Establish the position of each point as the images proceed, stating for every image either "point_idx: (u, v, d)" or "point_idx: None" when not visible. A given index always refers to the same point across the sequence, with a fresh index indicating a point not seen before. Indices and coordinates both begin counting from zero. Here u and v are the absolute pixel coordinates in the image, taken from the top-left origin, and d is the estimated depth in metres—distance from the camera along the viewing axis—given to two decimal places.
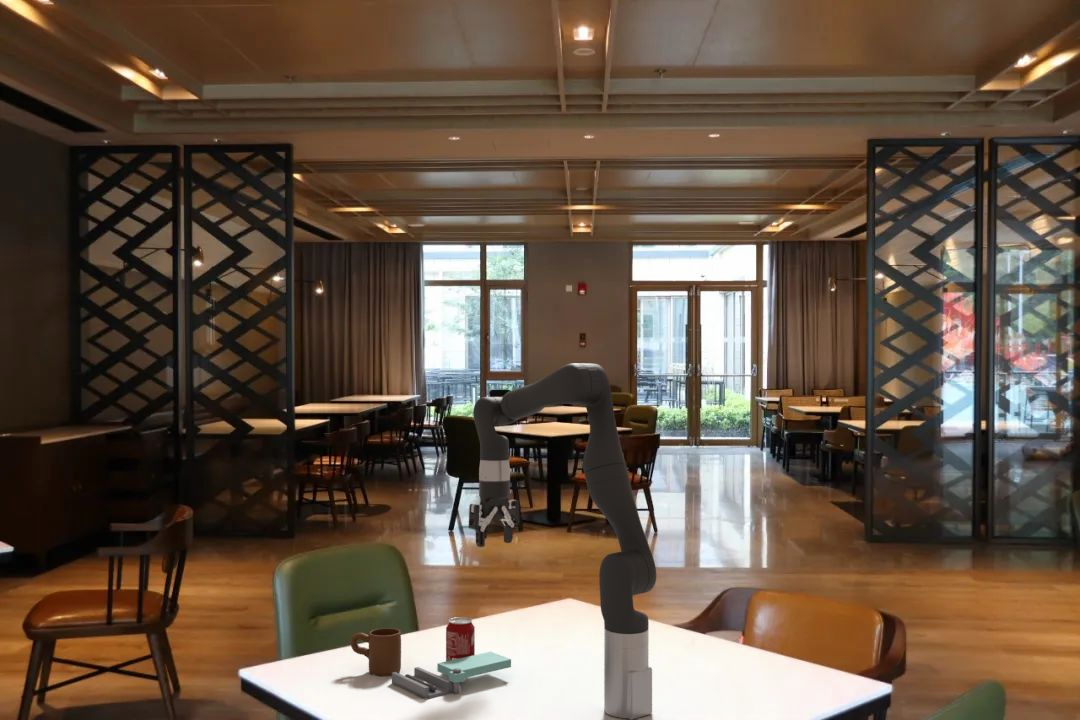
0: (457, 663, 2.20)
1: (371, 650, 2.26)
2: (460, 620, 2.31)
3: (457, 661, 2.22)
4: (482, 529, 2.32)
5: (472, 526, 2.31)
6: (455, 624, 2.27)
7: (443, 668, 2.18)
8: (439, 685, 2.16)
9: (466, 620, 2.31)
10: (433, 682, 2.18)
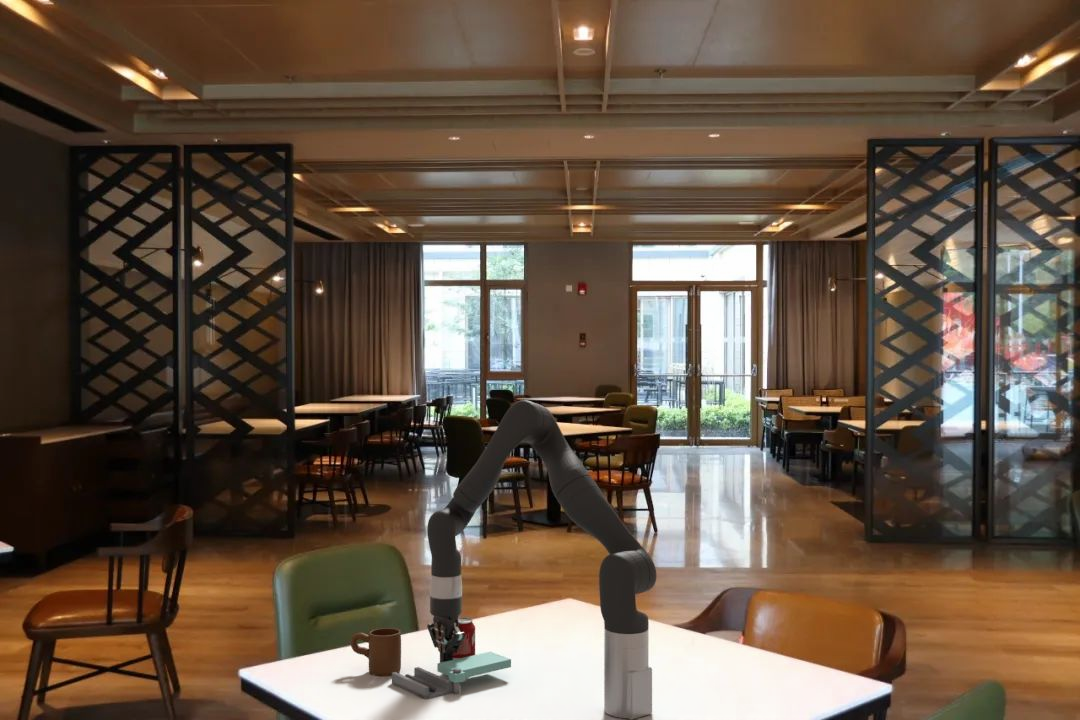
0: (457, 663, 2.20)
1: (371, 650, 2.26)
2: (461, 620, 2.31)
3: (457, 661, 2.22)
4: None
5: (454, 648, 2.25)
6: None
7: (443, 668, 2.18)
8: (439, 685, 2.16)
9: (467, 620, 2.31)
10: (433, 682, 2.18)
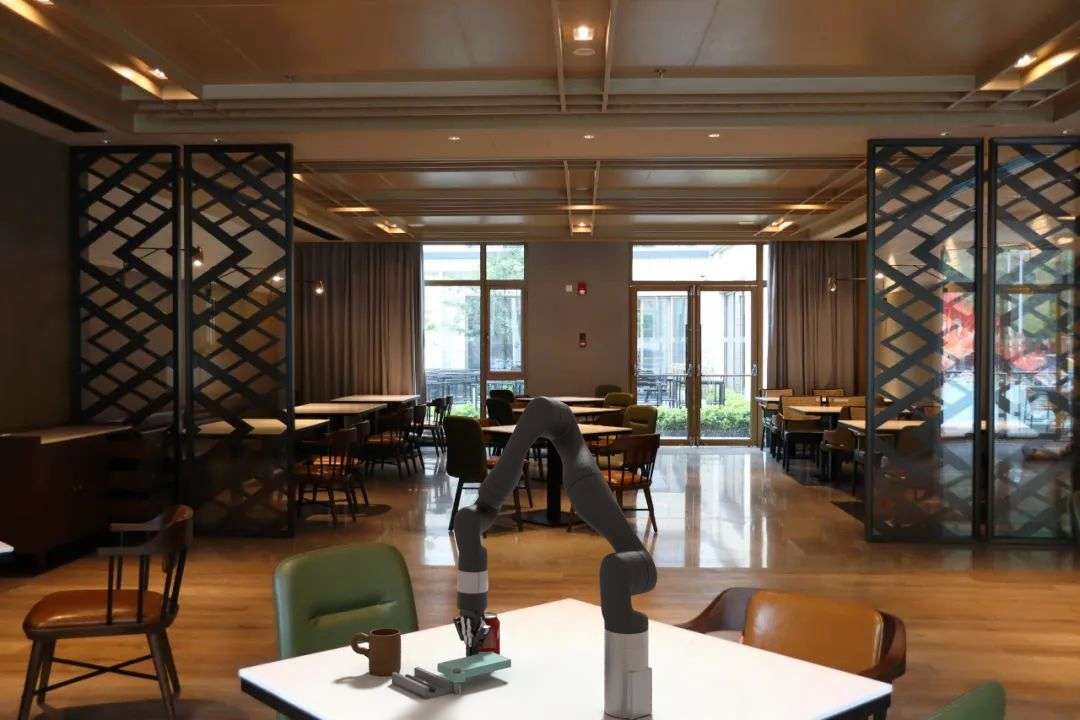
0: (457, 663, 2.20)
1: (371, 650, 2.26)
2: (485, 615, 2.36)
3: (457, 661, 2.22)
4: None
5: (480, 642, 2.30)
6: None
7: (443, 668, 2.18)
8: (439, 685, 2.16)
9: (491, 615, 2.36)
10: (433, 682, 2.18)
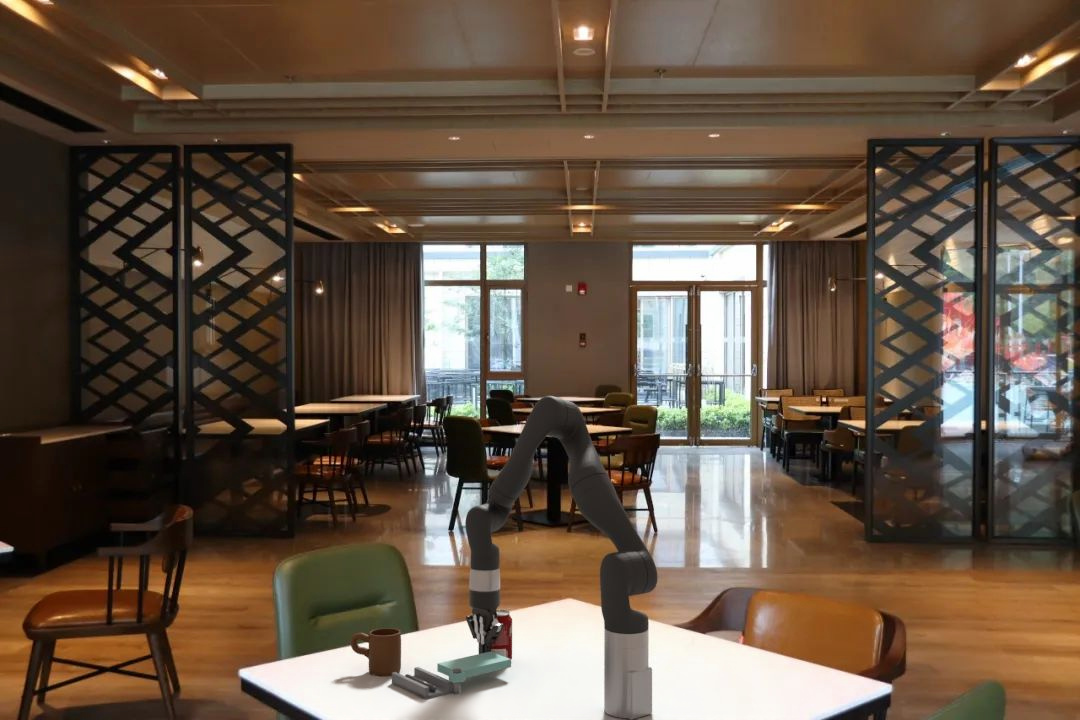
0: (457, 663, 2.20)
1: (371, 650, 2.26)
2: (498, 612, 2.39)
3: (457, 661, 2.22)
4: None
5: (493, 639, 2.32)
6: None
7: (443, 668, 2.18)
8: (439, 685, 2.16)
9: (504, 612, 2.39)
10: (433, 682, 2.18)
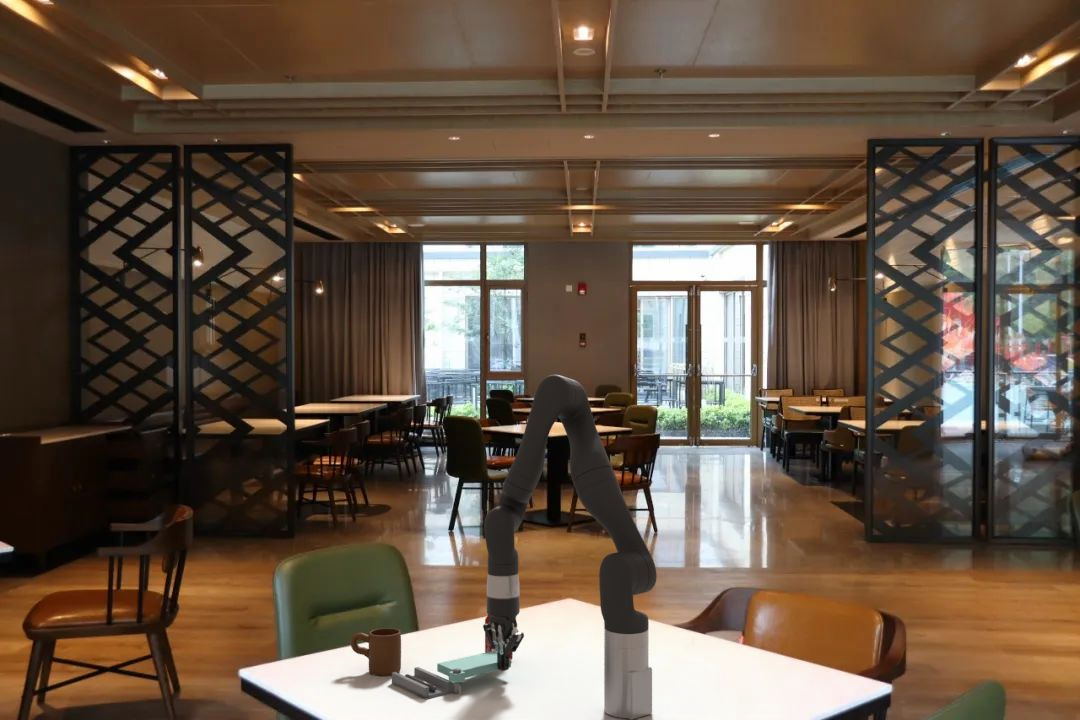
0: (457, 663, 2.20)
1: (371, 650, 2.26)
2: None
3: (456, 661, 2.22)
4: None
5: (512, 649, 2.18)
6: None
7: (443, 668, 2.18)
8: (439, 685, 2.16)
9: None
10: (433, 682, 2.18)
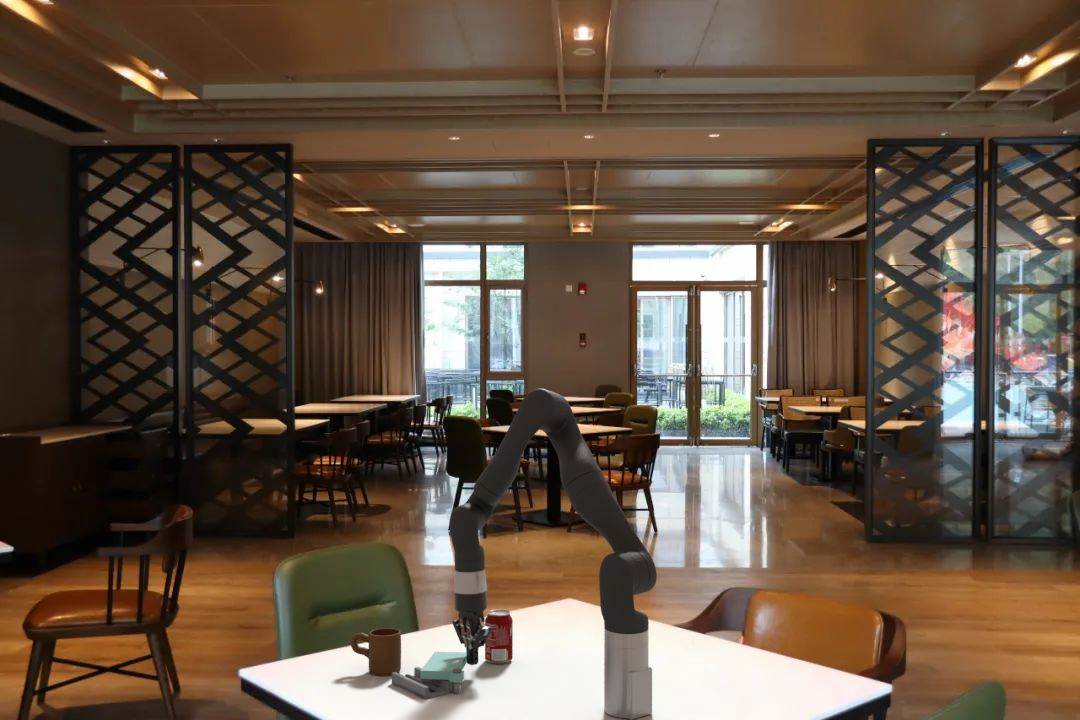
0: (436, 666, 2.18)
1: (371, 650, 2.26)
2: (498, 612, 2.39)
3: (432, 665, 2.19)
4: None
5: (480, 644, 2.23)
6: (494, 616, 2.35)
7: (431, 673, 2.14)
8: (439, 685, 2.16)
9: (504, 612, 2.39)
10: (433, 682, 2.18)
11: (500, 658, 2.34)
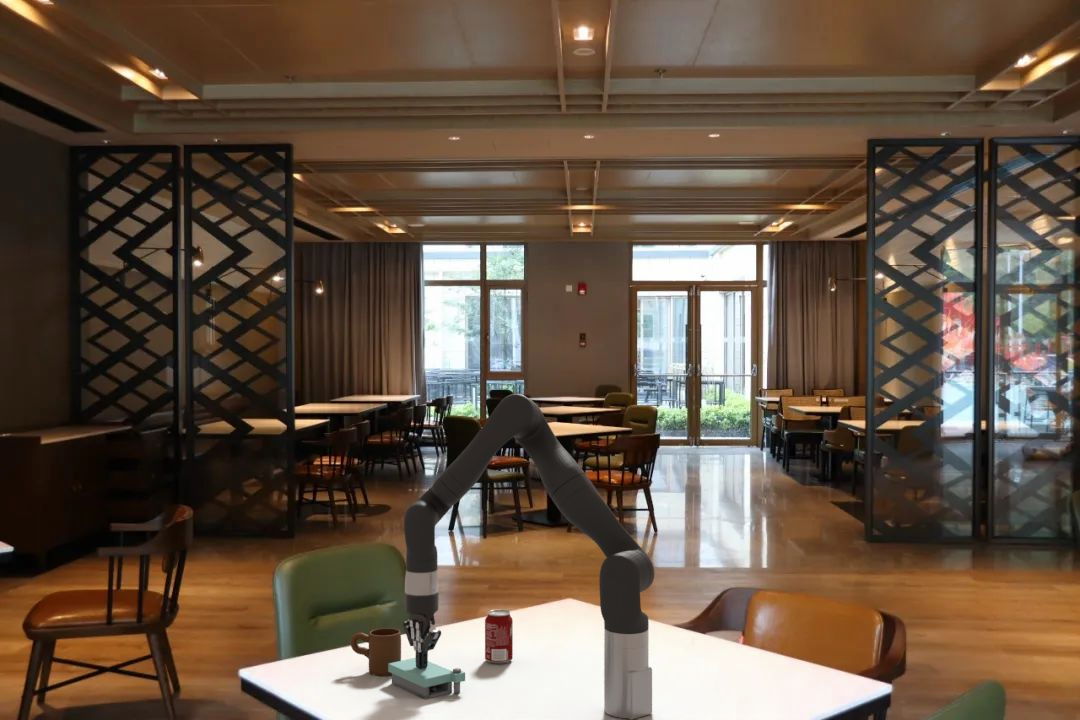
0: (427, 672, 2.13)
1: (371, 650, 2.26)
2: (498, 612, 2.39)
3: (420, 673, 2.13)
4: None
5: (430, 647, 2.15)
6: (494, 616, 2.35)
7: (434, 679, 2.10)
8: (439, 685, 2.16)
9: (504, 612, 2.39)
10: None
11: (500, 658, 2.34)
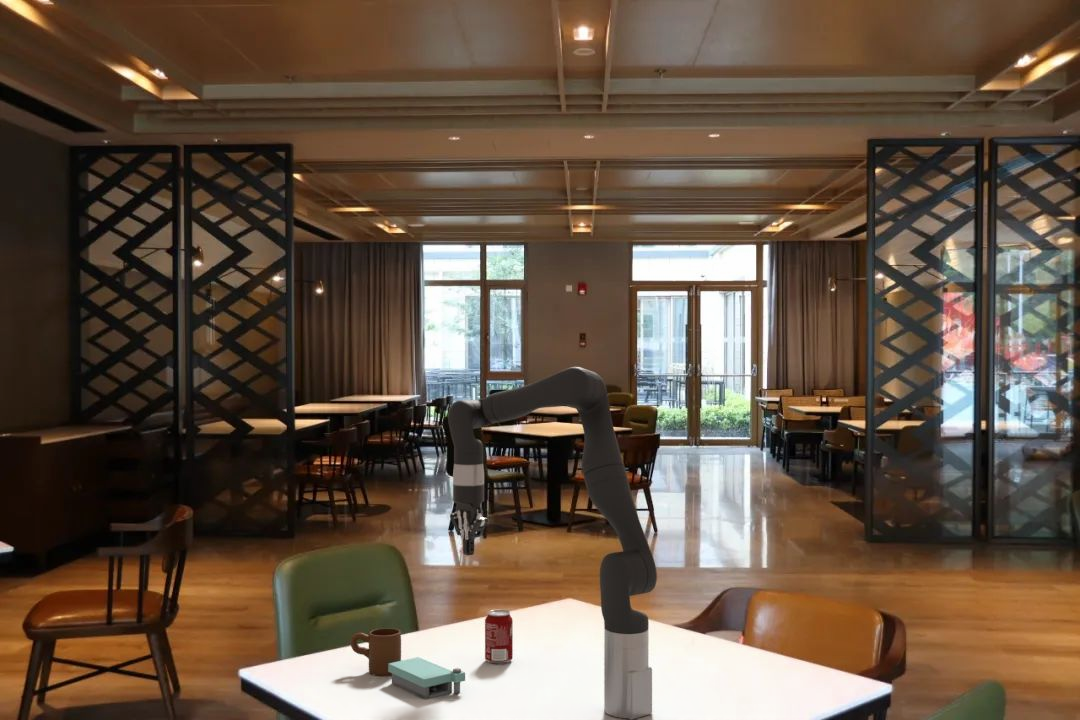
0: (427, 672, 2.13)
1: (371, 650, 2.26)
2: (498, 612, 2.39)
3: (420, 673, 2.13)
4: None
5: (477, 534, 2.30)
6: (494, 616, 2.35)
7: (434, 679, 2.10)
8: (439, 685, 2.16)
9: (504, 612, 2.39)
10: None
11: (500, 658, 2.34)
